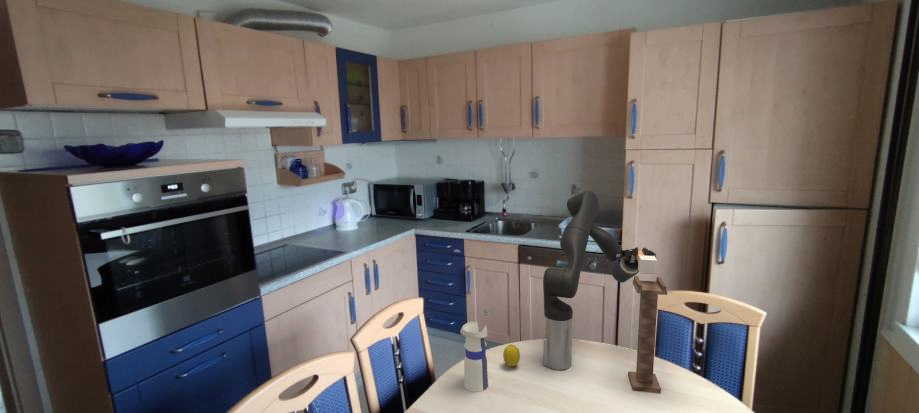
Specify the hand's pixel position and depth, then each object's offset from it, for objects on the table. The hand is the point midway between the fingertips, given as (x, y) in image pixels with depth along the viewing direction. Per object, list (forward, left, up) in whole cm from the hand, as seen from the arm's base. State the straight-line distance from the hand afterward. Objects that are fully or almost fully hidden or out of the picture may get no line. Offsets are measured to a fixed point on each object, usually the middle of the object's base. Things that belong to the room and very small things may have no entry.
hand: (641, 250), depth 138 cm
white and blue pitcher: (-51, -24, -39) cm, 69 cm away
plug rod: (0, -4, -3) cm, 6 cm away
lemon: (-41, -12, -39) cm, 58 cm away
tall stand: (0, -15, -38) cm, 41 cm away
